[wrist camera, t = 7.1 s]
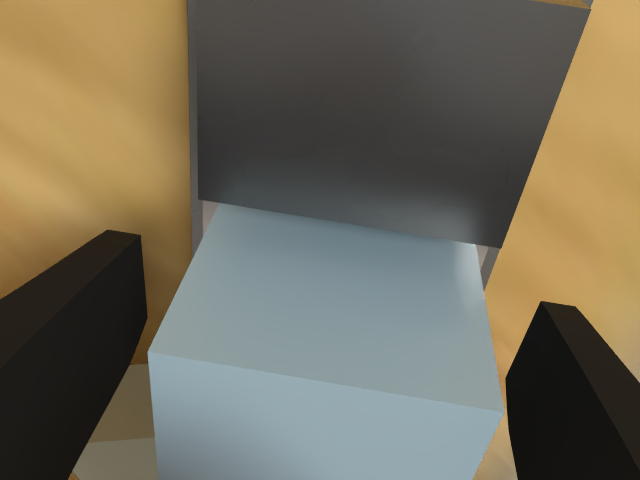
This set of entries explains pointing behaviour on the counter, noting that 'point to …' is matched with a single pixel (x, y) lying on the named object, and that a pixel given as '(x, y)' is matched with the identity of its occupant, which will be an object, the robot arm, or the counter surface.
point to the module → (323, 355)
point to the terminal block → (123, 434)
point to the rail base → (375, 110)
